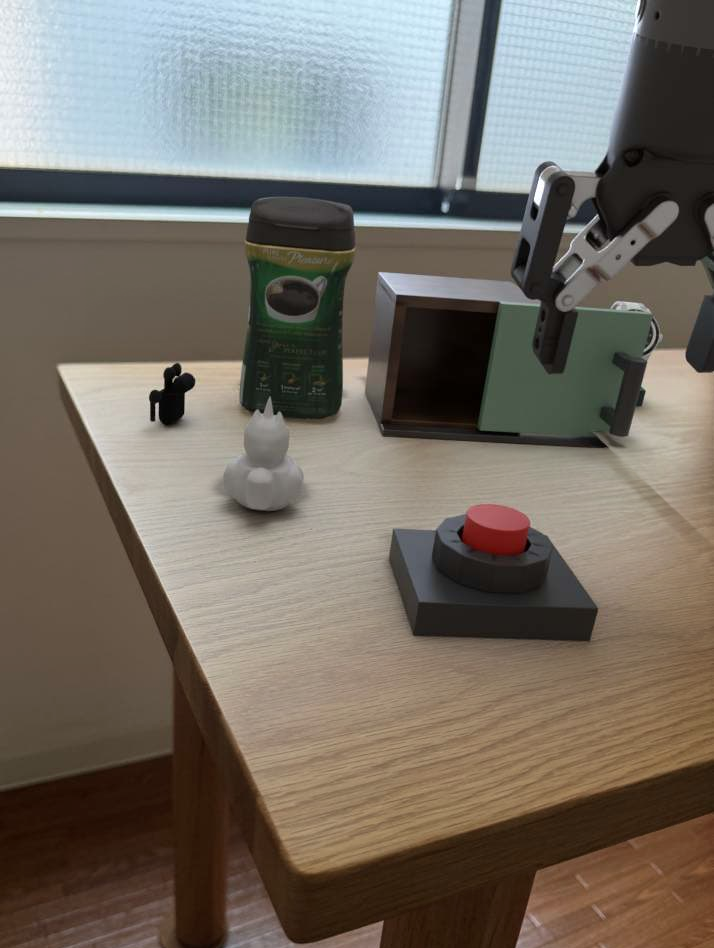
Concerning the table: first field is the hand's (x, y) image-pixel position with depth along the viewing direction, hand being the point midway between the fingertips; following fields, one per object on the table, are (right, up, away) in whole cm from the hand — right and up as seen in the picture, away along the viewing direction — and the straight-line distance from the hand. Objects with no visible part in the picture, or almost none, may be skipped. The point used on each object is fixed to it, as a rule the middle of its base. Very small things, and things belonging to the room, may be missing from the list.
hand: (625, 367), depth 47 cm
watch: (+13, +3, +41) cm, 43 cm away
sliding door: (+5, -1, +28) cm, 29 cm away
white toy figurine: (-21, -8, +12) cm, 25 cm away
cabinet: (-1, +2, +35) cm, 35 cm away
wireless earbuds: (-29, 0, +27) cm, 40 cm away
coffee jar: (-19, +3, +33) cm, 38 cm away
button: (-7, -10, +2) cm, 12 cm away
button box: (-7, -13, +4) cm, 15 cm away
